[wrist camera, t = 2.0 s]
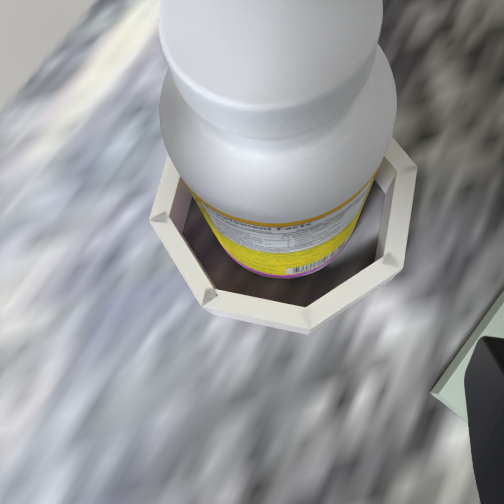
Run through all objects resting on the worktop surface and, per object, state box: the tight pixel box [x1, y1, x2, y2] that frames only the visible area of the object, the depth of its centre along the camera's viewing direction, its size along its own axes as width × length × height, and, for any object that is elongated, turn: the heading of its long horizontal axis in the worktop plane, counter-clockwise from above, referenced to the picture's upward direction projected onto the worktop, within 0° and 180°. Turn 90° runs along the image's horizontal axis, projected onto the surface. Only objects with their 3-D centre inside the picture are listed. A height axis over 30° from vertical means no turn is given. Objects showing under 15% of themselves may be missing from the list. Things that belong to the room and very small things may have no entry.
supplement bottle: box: [158, 0, 397, 279], centre depth 16 cm, size 7×7×13 cm
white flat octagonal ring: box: [149, 137, 418, 335], centre depth 21 cm, size 11×11×2 cm
